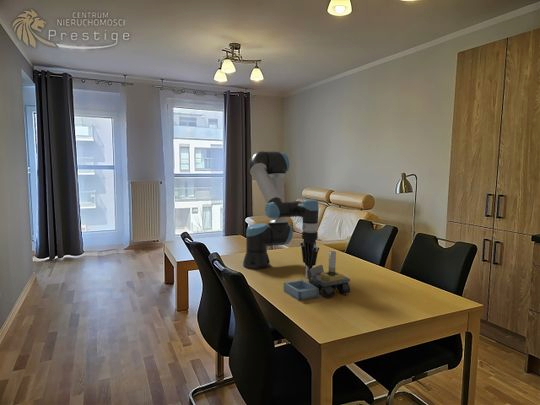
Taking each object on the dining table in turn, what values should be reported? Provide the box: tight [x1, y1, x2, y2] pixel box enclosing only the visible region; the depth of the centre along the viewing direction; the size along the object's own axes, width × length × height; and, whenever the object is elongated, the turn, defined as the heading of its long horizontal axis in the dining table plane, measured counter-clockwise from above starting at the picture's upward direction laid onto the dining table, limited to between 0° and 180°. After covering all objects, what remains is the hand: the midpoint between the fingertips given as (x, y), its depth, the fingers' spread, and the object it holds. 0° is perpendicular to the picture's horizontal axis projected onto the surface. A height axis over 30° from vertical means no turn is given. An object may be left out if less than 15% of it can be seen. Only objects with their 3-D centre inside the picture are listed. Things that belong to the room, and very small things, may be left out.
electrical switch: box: [307, 264, 325, 284], centre depth 173 cm, size 9×5×9 cm, turn 139°
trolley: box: [311, 270, 351, 299], centre depth 163 cm, size 13×14×9 cm
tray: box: [283, 279, 320, 302], centre depth 161 cm, size 13×10×4 cm
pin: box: [328, 250, 337, 276], centre depth 161 cm, size 3×3×12 cm
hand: (308, 278), depth 179 cm, fingers closed
